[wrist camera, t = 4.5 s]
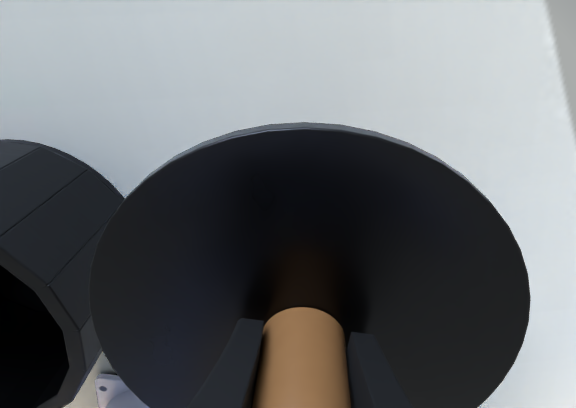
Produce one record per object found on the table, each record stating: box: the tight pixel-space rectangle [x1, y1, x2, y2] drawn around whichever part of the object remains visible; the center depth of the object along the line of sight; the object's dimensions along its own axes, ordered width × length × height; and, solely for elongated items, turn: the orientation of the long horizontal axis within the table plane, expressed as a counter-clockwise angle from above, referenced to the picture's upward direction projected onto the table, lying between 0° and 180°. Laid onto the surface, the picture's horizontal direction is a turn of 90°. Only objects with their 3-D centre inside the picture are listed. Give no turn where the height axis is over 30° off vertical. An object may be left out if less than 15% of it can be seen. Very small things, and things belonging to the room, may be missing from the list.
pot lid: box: [88, 122, 530, 408], centre depth 11 cm, size 12×12×4 cm
